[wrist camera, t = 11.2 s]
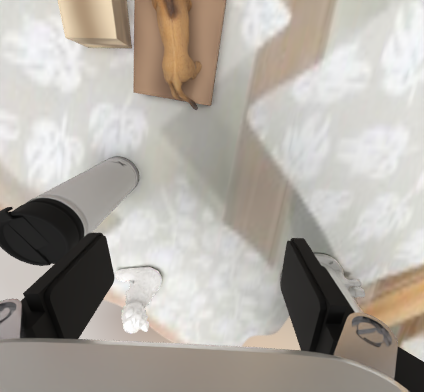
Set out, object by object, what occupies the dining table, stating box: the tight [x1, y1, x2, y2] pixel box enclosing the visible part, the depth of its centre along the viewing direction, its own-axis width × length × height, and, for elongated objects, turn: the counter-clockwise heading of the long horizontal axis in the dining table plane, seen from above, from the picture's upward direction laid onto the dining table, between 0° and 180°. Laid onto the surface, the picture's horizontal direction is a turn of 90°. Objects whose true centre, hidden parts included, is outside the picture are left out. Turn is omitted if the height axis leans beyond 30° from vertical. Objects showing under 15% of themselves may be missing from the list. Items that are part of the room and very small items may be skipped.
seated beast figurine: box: [115, 267, 162, 334], centre depth 40 cm, size 10×9×12 cm
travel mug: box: [0, 157, 139, 266], centre depth 28 cm, size 6×7×20 cm
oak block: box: [58, 0, 132, 48], centre depth 26 cm, size 6×6×5 cm
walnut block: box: [134, 0, 226, 106], centre depth 27 cm, size 10×16×5 cm, turn 171°
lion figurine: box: [151, 0, 202, 110], centre depth 21 cm, size 15×5×9 cm, turn 15°
